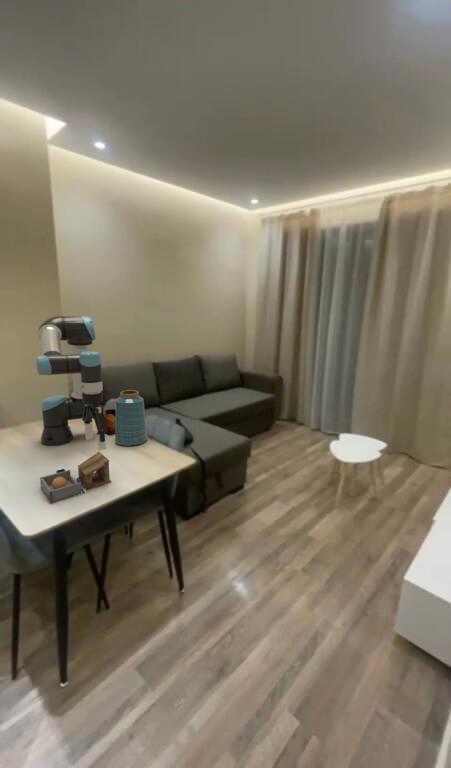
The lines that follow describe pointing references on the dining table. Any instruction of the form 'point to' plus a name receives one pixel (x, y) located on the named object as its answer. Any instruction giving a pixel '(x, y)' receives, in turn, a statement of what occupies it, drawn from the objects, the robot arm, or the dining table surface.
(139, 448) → the dining table surface
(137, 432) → the vase
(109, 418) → the mug
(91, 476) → the wooden cubby
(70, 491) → the bin
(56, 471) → the dark open box
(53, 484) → the ball
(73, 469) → the dining table surface
